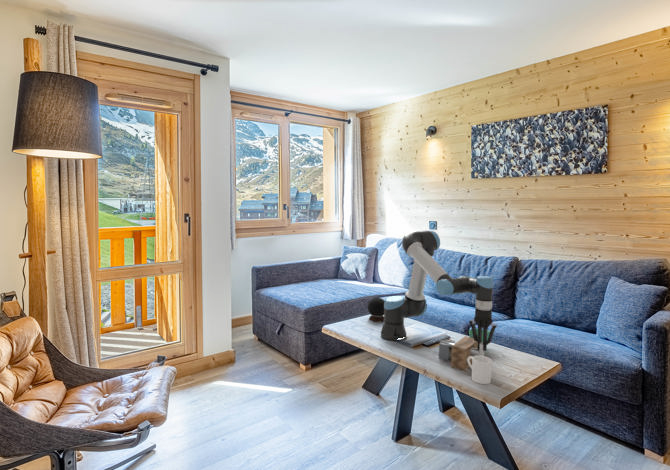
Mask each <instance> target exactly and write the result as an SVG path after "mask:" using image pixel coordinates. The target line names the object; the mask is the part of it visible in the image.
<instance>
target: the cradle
mask: <svg viewBox="0 0 670 470" xmlns="http://www.w3.org/2000/svg"><path fill="white" fill-rule="evenodd" d="M443 341H448V342H452V343H456V341H455V340H450V339H444V340H443ZM451 356H452V350H450V345H448V344H444V343H440V342H439V344H438V360H441V361H444V362H451Z"/></svg>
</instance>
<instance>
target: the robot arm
mask: <svg viewBox="0 0 670 470" xmlns="http://www.w3.org/2000/svg"><path fill="white" fill-rule="evenodd" d="M401 246H402V248H403V251H404V252H405V254H406V255H408V256H409V257H410V258H411V257H412V258H413V260H414V261H413V265H412V271H411V277H410V282H409V286H408V291H406V292H405V294H404V296H401V295H393V296H388V297H387V298H385V299H384V301H385V303H384V315H383V316H384V321H383V325H382V328H381V330H380V337H381V338H382V339H384V340H388V341H393V342H395V341H397V339H398V338H403V337H406V338H407V331H406V327H405V322H404V321H405V319H407V318H413V317H419V316H423V315H424V314H425V313H426V312H427V311H428V310H427V309H428V303H427V299H426V297H425V295H424V292H425V291H424V290H425V285H426V280H427V275H428V276H429V278H431V280H432V281H433V282H434V283H435V289H436V291H437V293H438V294H439V295H441V296H451V295H455V294H459V295H460V294H464V293H465V294H466V293H469V294H473V295H475V305H474V306H475V308H474V309H475V311H474V317H473V319H471V320H469V321H468V323H469V325H470V326H471V327H470V328H471V329H472V333H473V338H474V341H477V342H478V349H480V350H479V356H485V351H487V348H488V347H487V346H488V345H490V343H492V340H493V337H494V334H495V330H496V329H497V328H498V324H496V323H494V322H493V318H492V317H493V310H492V309H493V293H494V279H493V277H492V276H489V275H478V276H476V278H474V277H471V276H468V275H466V276H465V275H460V276H459V277H454V278H453V277H452V276H450V274H448V272H447V271H446V270H444V269H443V267H442V266H441V265H440V264H439V263H438V262H437V261H436V260H435V259H434V258H433V256H434V253H435V251H437V250H438V249H439V248H440V246H441V239H440V237H439V233H437V232H436V231H434V230H428V229H426V230H411V231H410V230H409V232H407V233H405V234H404V236H403V237H402V240H401ZM476 326H477V327H476ZM489 327H490V330H489V331H490V334H489V333H488V334H489V337H487V332H488V329H489ZM476 329H478V336H477V331H476ZM482 330H483V342H481V341H482ZM487 338H488V340H487ZM487 344H488V345H487Z"/></svg>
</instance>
